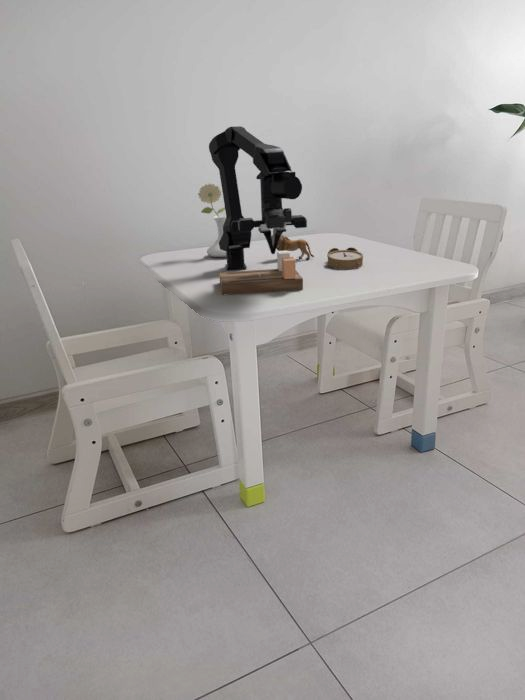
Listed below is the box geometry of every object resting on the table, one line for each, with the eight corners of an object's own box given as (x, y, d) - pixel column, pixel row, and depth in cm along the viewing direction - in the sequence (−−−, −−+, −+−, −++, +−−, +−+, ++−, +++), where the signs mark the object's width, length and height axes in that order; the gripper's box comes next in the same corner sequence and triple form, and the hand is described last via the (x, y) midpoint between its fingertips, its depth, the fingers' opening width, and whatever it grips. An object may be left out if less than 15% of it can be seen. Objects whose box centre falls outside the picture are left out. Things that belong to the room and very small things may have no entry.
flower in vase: (241, 252, 186) (237, 181, 177) (235, 259, 176) (230, 184, 167) (206, 252, 188) (201, 182, 179) (198, 259, 178) (192, 185, 168)
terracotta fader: (282, 275, 140) (281, 257, 138) (292, 274, 140) (292, 256, 138) (284, 279, 136) (284, 260, 134) (295, 278, 136) (295, 260, 135)
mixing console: (220, 282, 148) (219, 272, 146) (294, 277, 150) (294, 267, 149) (222, 294, 136) (221, 283, 134) (302, 289, 138) (302, 278, 137)
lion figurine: (272, 261, 171) (271, 234, 167) (271, 258, 176) (270, 232, 172) (315, 259, 171) (315, 232, 168) (313, 256, 176) (313, 230, 173)
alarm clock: (330, 261, 156) (324, 243, 169) (329, 275, 159) (324, 257, 172) (366, 259, 156) (358, 242, 169) (365, 274, 159) (357, 256, 171)
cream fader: (277, 268, 148) (276, 251, 146) (287, 267, 148) (287, 250, 146) (279, 271, 144) (279, 253, 143) (289, 270, 145) (289, 253, 143)
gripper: (239, 201, 130) (242, 262, 136) (311, 198, 132) (311, 257, 138) (236, 197, 140) (239, 253, 146) (302, 194, 142) (302, 249, 148)
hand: (272, 253), depth 144 cm, fingers closed
